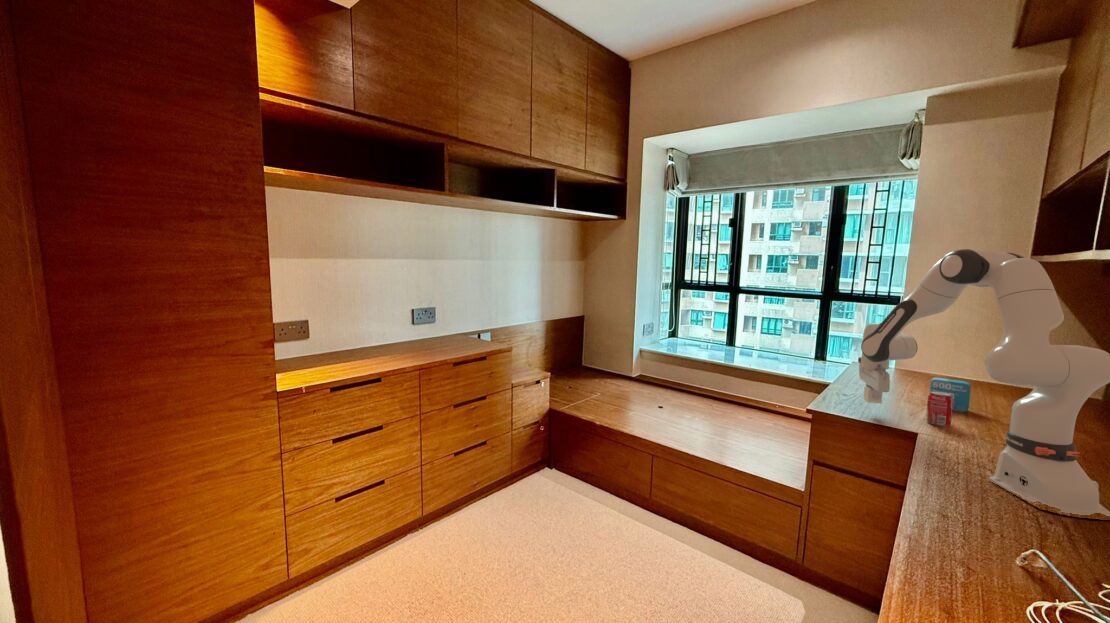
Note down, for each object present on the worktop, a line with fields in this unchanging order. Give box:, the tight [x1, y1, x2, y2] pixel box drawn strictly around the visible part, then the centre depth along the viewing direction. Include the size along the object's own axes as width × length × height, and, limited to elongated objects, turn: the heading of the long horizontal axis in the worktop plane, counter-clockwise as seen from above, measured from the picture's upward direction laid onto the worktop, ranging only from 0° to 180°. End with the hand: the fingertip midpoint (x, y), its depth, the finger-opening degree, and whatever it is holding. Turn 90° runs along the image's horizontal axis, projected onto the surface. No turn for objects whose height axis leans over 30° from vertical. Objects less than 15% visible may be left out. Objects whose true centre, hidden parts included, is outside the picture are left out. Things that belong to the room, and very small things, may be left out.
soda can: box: [925, 391, 953, 427], centre depth 159 cm, size 7×7×12 cm
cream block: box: [863, 386, 884, 404], centre depth 169 cm, size 5×5×5 cm
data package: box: [929, 377, 972, 413], centre depth 175 cm, size 12×4×12 cm, turn 43°
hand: (872, 396), depth 169 cm, fingers closed on cream block, 5 cm apart
